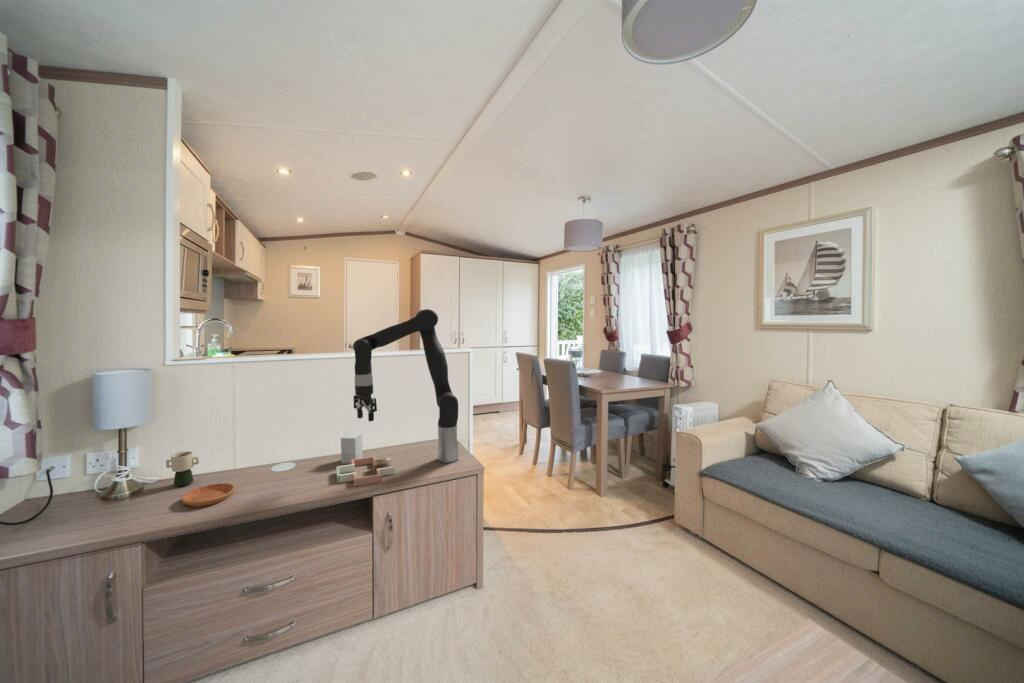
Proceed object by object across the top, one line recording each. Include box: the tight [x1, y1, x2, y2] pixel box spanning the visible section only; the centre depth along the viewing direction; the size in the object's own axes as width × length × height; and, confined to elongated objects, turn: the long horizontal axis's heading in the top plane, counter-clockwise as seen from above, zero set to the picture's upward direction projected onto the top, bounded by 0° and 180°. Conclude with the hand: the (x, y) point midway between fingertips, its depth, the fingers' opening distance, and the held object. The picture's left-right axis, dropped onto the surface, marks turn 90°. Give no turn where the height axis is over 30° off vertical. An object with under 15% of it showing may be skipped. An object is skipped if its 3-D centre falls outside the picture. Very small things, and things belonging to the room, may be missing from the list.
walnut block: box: [372, 458, 389, 475], centre depth 175 cm, size 6×6×4 cm
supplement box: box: [340, 433, 364, 465], centre depth 186 cm, size 7×7×13 cm
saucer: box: [181, 482, 235, 508], centre depth 148 cm, size 16×16×3 cm
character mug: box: [165, 450, 200, 487], centre depth 159 cm, size 11×7×13 cm, turn 114°
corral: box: [336, 455, 395, 487], centre depth 173 cm, size 24×24×3 cm
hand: (365, 419), depth 171 cm, fingers open, 8 cm apart
